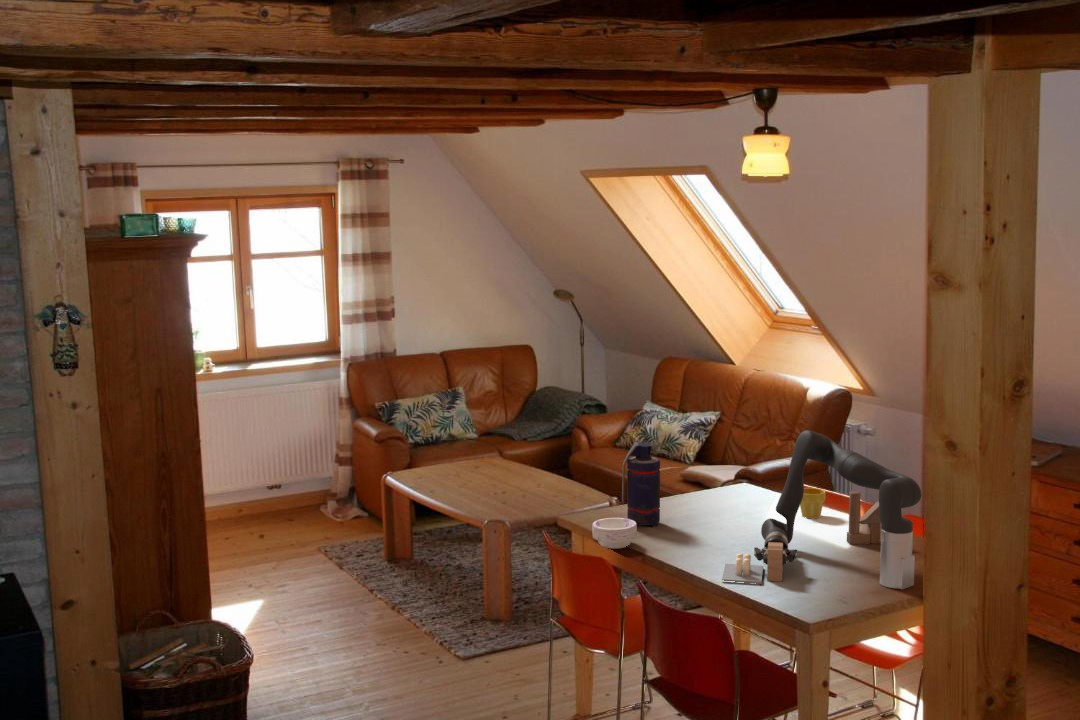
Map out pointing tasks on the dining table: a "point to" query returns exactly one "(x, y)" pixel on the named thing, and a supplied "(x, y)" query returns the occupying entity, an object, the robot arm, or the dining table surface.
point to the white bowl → (614, 532)
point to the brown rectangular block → (775, 561)
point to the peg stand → (743, 571)
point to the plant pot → (812, 502)
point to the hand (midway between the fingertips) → (775, 561)
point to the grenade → (642, 485)
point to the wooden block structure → (863, 522)
